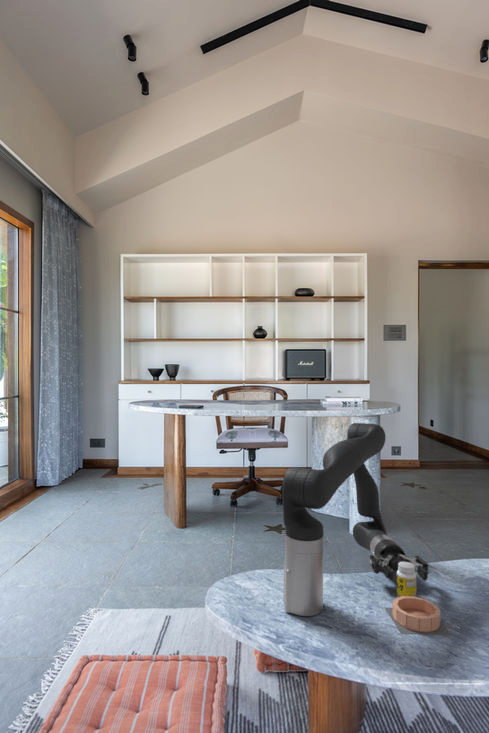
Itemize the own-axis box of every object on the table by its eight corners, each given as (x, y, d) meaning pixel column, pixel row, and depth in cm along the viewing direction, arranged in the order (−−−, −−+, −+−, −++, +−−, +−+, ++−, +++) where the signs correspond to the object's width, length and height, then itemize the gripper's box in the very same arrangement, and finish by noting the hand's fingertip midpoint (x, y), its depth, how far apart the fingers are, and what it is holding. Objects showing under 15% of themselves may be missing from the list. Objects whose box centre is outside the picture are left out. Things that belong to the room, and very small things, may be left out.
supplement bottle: (393, 593, 113) (393, 560, 113) (411, 593, 113) (410, 560, 113) (401, 603, 108) (401, 568, 108) (419, 602, 108) (419, 568, 109)
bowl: (402, 632, 94) (402, 618, 95) (387, 608, 104) (387, 595, 105) (448, 632, 95) (448, 618, 95) (428, 609, 105) (428, 596, 105)
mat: (401, 635, 94) (401, 633, 94) (384, 608, 105) (384, 607, 105) (451, 635, 94) (451, 634, 94) (429, 609, 105) (429, 608, 105)
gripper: (362, 538, 125) (380, 561, 109) (411, 539, 126) (436, 561, 109) (362, 564, 125) (380, 591, 109) (411, 565, 125) (436, 592, 109)
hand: (408, 576), depth 109 cm, fingers open, 8 cm apart
